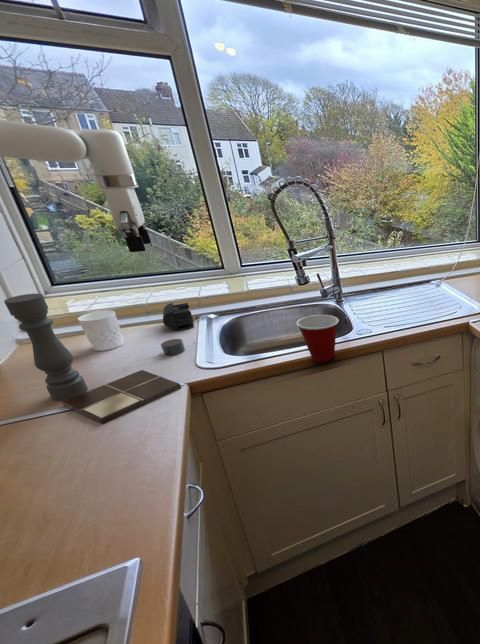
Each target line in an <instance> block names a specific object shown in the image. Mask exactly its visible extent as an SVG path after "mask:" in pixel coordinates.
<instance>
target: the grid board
mask: <svg viewBox="0 0 480 644" xmlns="http://www.w3.org/2000/svg"><path fill="white" fill-rule="evenodd" d="M181 388H182V385H181V383H179V382H176V381H174V380H172V379H168V378H166V377H163V376H161V375H157V374H154V373H152V372H149V371H146V370H143V369H142V370H138V371H135V372H133V373H130V374H128V375H126V376H123V377H121V378H118V379H115V380H112V381H111V382H110V381H109V382H108V383H104V384H103V385H101V386H97V387H96V388H93V389H90V390H87V391H86V392H85V393H83V394H80V395H78V396H75V397H72V398H70V399H67V400H62V401H61V402H62V404H63V407H66V408H68V409H70V410H73V411H74V412H76V413H78V414H80V415H83V416H85V417H87V418H89V419H91V420H93V421H95V422H98V423H100V424H102V425H103V424H106V423H108V422H111V421H112V420H114V419H117V418H119V417H120V416H124V415H125V414H128V413H130V412H132V411H134V410H136V409H138V408H141V407H143V406H144V405H147V404H149V403H151V402H153V401H156V400H158V399H160V398H162V397H164V396H167V395H169V394H171V393H173V392H175V391H177V390H180V389H181Z"/></svg>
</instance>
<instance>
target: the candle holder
mask: <svg viewBox="0 0 480 644" xmlns="http://www.w3.org/2000/svg"><path fill="white" fill-rule="evenodd" d="M3 303H4V305H5V306H6V308H7V310H8V312H9V314H10V316H11V317H12V316H13V318H14V319H16V320H18V322H20V324H19V325H18V329H20V330H21V331H24V332H26V334H27V336H28V338H29V340H30V342H31V345H32V354H33V363H34V366H35V368H37V369H38V370H39V371H42V372H44V374H45V375H46V377H45V380H44V382H45V384H46V389H47V391H48V393H49V395H50V397H51V400H52V401H56V402H62V401H65V400H67V399H70V398H72V397H75V396H78V395H80V394H83V393H85V392H88V391H89V388H88V385H87V383H86V381H85V379H84V378H83V376H82V375H80V372H79V371H78V370H76V369H75V368H72V367H73V366H72V364H73V361H74V357H73V354H72V353H71V352H70V350H69V349H68V348H67V347H66V346H65V345H64V344H63V343H62V342H61V340H60V339H58V337H57V336H56V335H55V332H54V330H53V327H52V324H54V320H53V318H49V317H48V313H49V306H48V304H47V302H46V299H45V297H44V295H43V294H42V293H25V294H20V295H15V296H11V297H9V298H6V299H4V300H3Z"/></svg>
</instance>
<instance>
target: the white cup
mask: <svg viewBox="0 0 480 644" xmlns="http://www.w3.org/2000/svg"><path fill="white" fill-rule="evenodd" d="M77 321H78V323H79V326H80V327H81V329H82V331H83V333H84V334H85V336H86V339H87V340H88V342H89V343H90V345H91V346H92V349H93V350H94V351H98V352H102V351H109V350H113V349H116V348H119V347H120V346H122V345H123V344H124V343H125V340H124V338H123V335H122V334H123V333H122V330H121V326H120V324H119V321H118V317H117V314H116V312H115V310H108V309H107V310H105V309H104V310H96V311H91V312H88V313H84V314H82V315H80V316H78V317H77Z"/></svg>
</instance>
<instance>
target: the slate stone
mask: <svg viewBox="0 0 480 644" xmlns="http://www.w3.org/2000/svg"><path fill="white" fill-rule="evenodd" d="M160 347H161V350H162V352H163V355H164V356H175V355H180V354H182V353H183V352H185V351H186V347H185V344H184V341H183V339H182V338H172V339H168V340H165V341H163V342H161V344H160Z"/></svg>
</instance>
